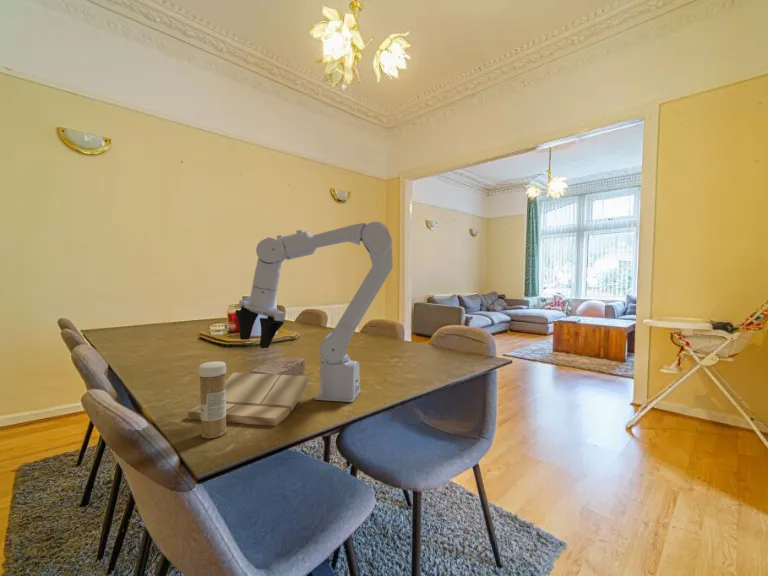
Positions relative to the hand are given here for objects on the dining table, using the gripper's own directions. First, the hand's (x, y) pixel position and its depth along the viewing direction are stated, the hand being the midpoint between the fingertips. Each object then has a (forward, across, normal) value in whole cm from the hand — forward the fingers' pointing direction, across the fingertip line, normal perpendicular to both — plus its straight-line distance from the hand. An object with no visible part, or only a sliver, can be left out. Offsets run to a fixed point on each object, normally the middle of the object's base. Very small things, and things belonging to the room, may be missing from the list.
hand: (254, 343), depth 84 cm
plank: (+11, +5, +1) cm, 12 cm away
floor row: (+13, +9, -7) cm, 17 cm away
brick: (+13, -6, +16) cm, 21 cm away
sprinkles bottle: (+14, +12, -15) cm, 23 cm away
